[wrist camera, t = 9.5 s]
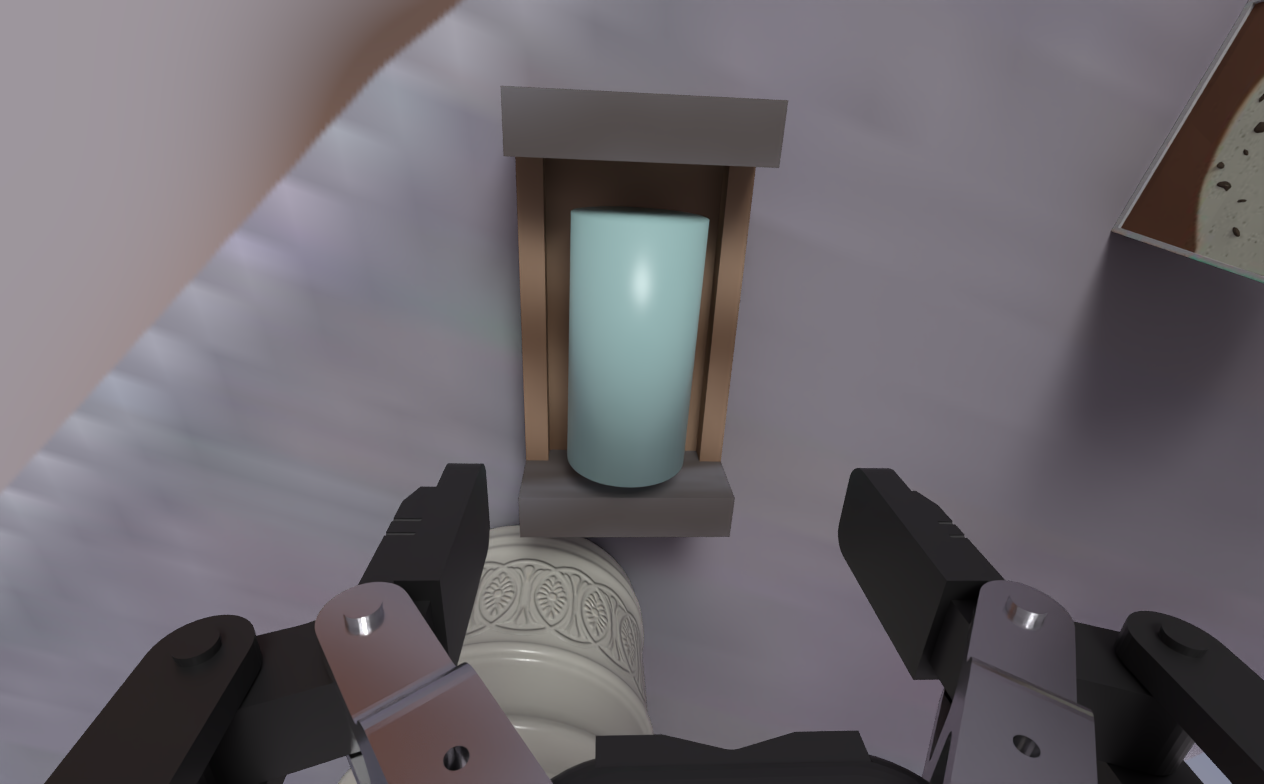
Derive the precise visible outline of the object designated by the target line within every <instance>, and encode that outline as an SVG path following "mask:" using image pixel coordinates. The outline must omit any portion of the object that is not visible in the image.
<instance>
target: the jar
mask: <svg viewBox="0 0 1264 784" xmlns="http://www.w3.org/2000/svg"><path fill="white" fill-rule="evenodd" d="M643 645H644V630H643V623H642V614H641V610H640V606H639V603H638V600H637V598H636V595H635V593H634V591H633V588H632V585H631V583H630V581H629V579H628V577H627V575H626V573H625V572H624V570H623V569H622V568H621V566H620V565H619V564H618V563H617V562H616V560H615V559H614V558H613V557H611V556H610V555H609V554H608V553H607V552H606V551H604V550H603V549H602V548H600V547H599V546H597V545H596V544H594V543H592V542H591V541H589V540H587V539H585V538H583V537H520V525H514V526H505V527H498V528H494V529H490V537H489V547H488V553H487V557H486V560H485V564H484V568H483V572H482V575H481V579H480V583H479V586H478V590H477V594H476V598H475V601H474V605H473V609H472V613H471V616H470V620H469V624H468V628H467V631H466V635H465V639H464V643H463V646H462V650H461V654H460V658H459V661H458V665H460V664H461V663H463V662H466V663H468V664H470V665H471V666H472V667H473V668H474V670H475V671H476V672H477V674H478V675H479V677H480V678H481V680H482V681H483V683H484V684H485V685H486V687H487V688H488V690H489V691H490V693H491V694H492V696H493V697H494V699H495V700H496V701H497V703H498V704H499V706H500V707H501V709H502V710H503V712H504V713H505V715H506V716H507V717H508V719H509V720H510V722H511V723H512V725H513V726H514V728H515V729H516V731H517V732H518V734H519V735H520V736H521V738H522V739H523V741H524V742H525V744H526V745H527V747H528V748H529V750H530V751H531V752H532V754H533V755H534V757H535V758H536V760H537V761H538V763H539V764H540V766H541V767H542V768H543V770H544V771H545V773H546V774H547V776H548V777H549V779H551V778H553V777H555V776H556V775H558V774H560V773H561V772H563V771H565V770H566V769H568V768H571V767H573V766H575V765H577V764H580V763H582V762H585V761H588V760H592V759H595V741H596V736H606V735H654V733H653V727H652V724H651V720H650V717H649V715H648V711H647V700H646V689H645V678H644V667H643V656H642V652H643ZM458 665H457V666H458ZM338 784H357V782H356V780H355V777H354V775H353V772H352V770H351V768H350V769H349V770H348V771H347V772H346V773H345V774H344V775H343V777H342V778H341V779H340V781H339V782H338Z"/></svg>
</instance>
